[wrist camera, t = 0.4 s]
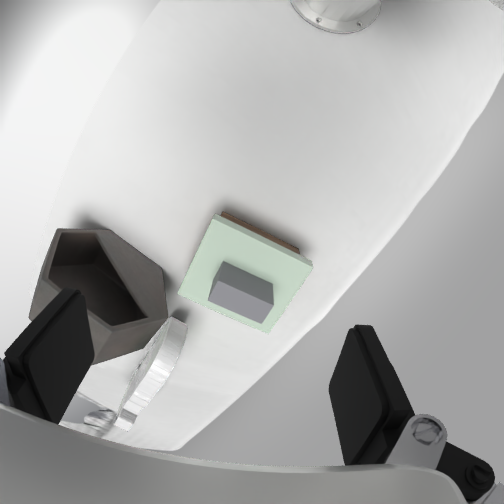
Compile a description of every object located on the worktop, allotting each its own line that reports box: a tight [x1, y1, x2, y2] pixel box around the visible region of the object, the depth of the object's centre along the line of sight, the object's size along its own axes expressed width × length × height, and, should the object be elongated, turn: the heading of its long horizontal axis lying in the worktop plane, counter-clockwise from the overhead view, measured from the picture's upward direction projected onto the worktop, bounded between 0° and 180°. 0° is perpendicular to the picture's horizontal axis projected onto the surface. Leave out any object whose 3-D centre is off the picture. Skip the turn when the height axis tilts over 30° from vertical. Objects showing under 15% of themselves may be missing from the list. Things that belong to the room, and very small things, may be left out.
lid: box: [177, 214, 313, 334], centre depth 40 cm, size 12×14×7 cm
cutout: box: [113, 316, 188, 432], centre depth 49 cm, size 15×3×25 cm
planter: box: [29, 228, 168, 365], centre depth 40 cm, size 17×8×21 cm
